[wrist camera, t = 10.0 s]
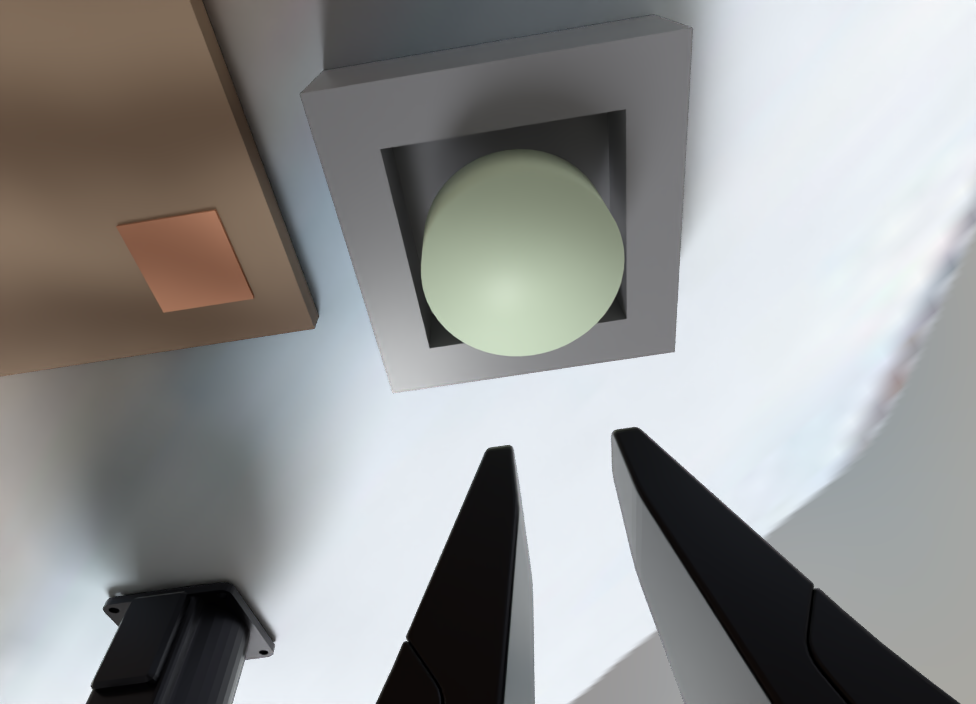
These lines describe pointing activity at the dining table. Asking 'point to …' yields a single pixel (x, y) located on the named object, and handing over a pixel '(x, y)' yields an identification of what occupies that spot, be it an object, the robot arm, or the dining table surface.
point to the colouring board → (131, 190)
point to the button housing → (505, 126)
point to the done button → (520, 254)
